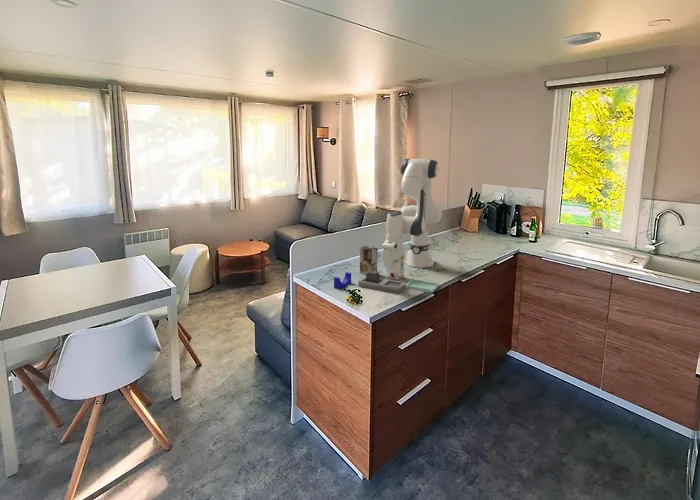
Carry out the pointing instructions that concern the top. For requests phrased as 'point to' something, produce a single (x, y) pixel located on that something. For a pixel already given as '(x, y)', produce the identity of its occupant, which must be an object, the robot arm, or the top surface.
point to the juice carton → (401, 272)
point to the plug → (394, 267)
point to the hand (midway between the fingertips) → (393, 267)
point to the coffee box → (368, 259)
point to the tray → (422, 285)
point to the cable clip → (344, 283)
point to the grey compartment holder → (381, 283)
